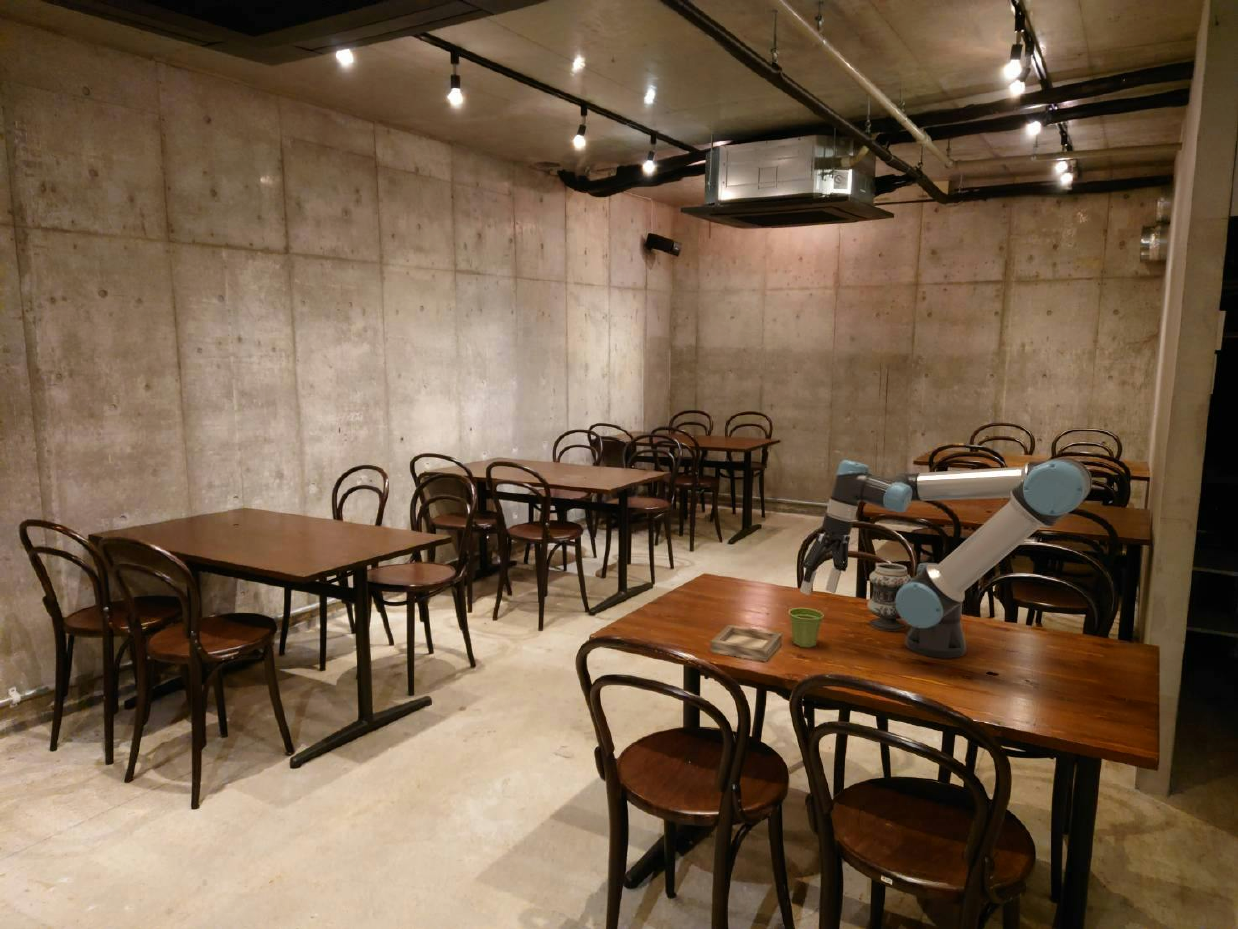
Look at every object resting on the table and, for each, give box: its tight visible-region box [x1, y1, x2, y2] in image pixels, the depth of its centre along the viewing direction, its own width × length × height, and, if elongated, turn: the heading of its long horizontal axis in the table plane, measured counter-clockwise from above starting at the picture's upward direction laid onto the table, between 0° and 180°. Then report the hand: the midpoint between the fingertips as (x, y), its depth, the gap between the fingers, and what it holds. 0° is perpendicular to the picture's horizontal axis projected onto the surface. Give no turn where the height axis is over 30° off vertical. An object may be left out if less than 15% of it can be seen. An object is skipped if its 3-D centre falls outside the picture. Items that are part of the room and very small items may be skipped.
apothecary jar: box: [866, 562, 913, 632], centre depth 227 cm, size 12×12×18 cm
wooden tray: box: [709, 624, 783, 663], centre depth 208 cm, size 15×15×3 cm
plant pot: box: [788, 607, 825, 648], centre depth 212 cm, size 9×9×9 cm
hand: (817, 592), depth 211 cm, fingers open, 13 cm apart
